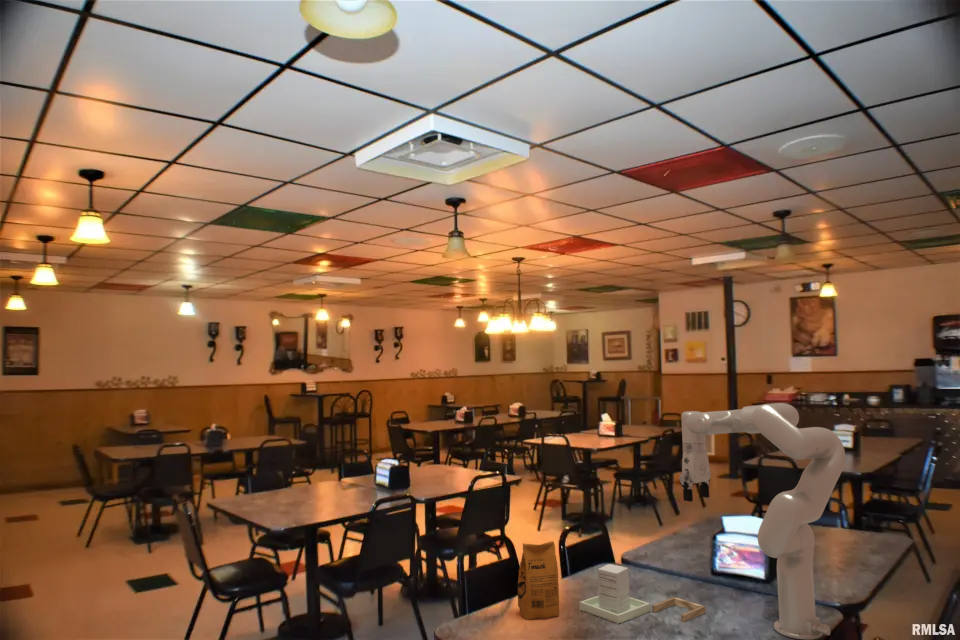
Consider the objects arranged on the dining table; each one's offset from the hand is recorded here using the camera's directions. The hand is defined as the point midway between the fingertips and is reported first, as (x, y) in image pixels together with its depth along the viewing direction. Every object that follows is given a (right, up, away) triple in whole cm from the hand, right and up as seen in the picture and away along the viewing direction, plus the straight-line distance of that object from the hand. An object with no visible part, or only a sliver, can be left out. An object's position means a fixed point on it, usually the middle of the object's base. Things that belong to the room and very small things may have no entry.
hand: (696, 499), depth 216 cm
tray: (-31, -32, -13) cm, 46 cm away
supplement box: (-31, -31, -13) cm, 46 cm away
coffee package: (-55, -32, -15) cm, 65 cm away
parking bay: (-11, -31, -16) cm, 37 cm away
